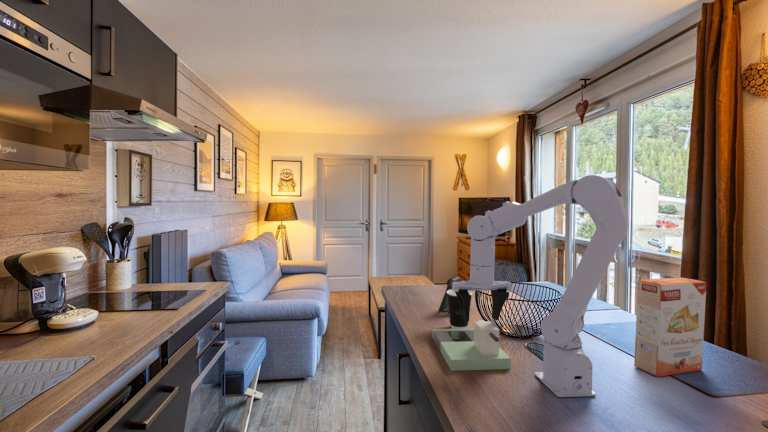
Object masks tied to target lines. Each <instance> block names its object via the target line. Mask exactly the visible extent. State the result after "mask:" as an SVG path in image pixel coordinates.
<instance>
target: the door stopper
mask: <svg viewBox="0 0 768 432" xmlns="http://www.w3.org/2000/svg"><path fill="white" fill-rule="evenodd" d="M461 281H462V279H461V278H460V276H453V277H451V278H449V279H447V281H446V290H445V292H444V294H443V297H442V300H441V302H440V305H439V308H438V311H439V312H442V311H443V312H442V313H447V312H448V314H449V306H448V296H447V293H446V292H447V291H448V290H452V282H461Z"/></svg>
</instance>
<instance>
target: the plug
mask: <svg viewBox="0 0 768 432" xmlns="http://www.w3.org/2000/svg"><path fill="white" fill-rule="evenodd" d="M473 324H474V326H473V328H474V346H475V347H476V348H477V349H478V351H479V352H480V353H481V354H482V355H499V347H500V329H499V328H498V327H497V326H496V325H495V324H493V323H492V322H491V321H490V320H489V321H488V320H487V321H485V320H484V319H477V321H474V323H473Z"/></svg>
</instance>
